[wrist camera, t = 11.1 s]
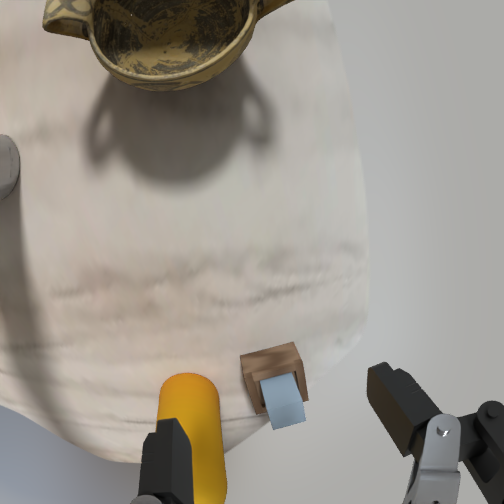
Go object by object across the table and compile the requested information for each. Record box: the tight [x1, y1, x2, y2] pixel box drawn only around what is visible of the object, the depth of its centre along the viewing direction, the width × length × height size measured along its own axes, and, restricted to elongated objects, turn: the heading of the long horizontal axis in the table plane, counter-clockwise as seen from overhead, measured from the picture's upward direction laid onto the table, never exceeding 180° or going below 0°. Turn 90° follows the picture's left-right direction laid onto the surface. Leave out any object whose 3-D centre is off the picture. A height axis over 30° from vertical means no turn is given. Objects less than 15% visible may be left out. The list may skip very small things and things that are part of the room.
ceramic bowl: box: [42, 0, 294, 91], centre depth 22 cm, size 22×17×15 cm
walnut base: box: [240, 342, 308, 414], centre depth 42 cm, size 8×8×5 cm
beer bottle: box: [155, 373, 227, 504], centre depth 30 cm, size 9×9×29 cm
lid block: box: [260, 372, 306, 430], centre depth 37 cm, size 4×4×6 cm
